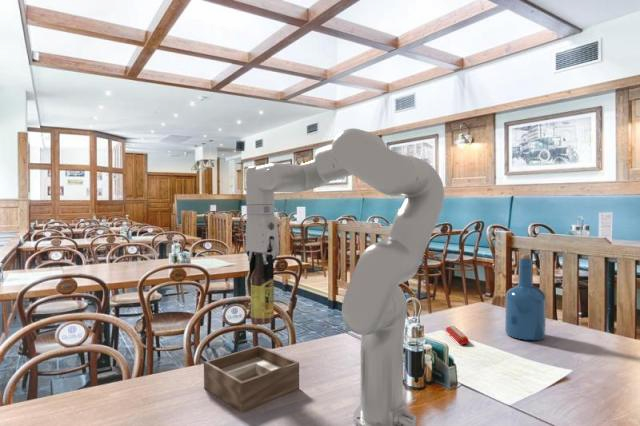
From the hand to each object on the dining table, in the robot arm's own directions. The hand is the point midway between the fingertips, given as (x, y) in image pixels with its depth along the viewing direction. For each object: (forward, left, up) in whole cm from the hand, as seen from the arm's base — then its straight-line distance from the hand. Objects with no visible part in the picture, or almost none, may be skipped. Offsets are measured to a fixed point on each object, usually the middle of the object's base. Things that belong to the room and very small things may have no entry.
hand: (261, 276), depth 114 cm
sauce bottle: (0, 0, -13) cm, 13 cm away
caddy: (-2, +5, -29) cm, 30 cm away
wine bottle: (-37, -91, -29) cm, 103 cm away
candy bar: (-20, -71, -30) cm, 80 cm away
